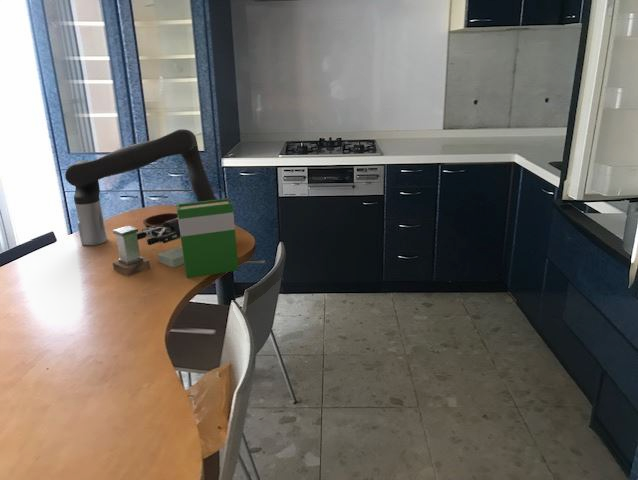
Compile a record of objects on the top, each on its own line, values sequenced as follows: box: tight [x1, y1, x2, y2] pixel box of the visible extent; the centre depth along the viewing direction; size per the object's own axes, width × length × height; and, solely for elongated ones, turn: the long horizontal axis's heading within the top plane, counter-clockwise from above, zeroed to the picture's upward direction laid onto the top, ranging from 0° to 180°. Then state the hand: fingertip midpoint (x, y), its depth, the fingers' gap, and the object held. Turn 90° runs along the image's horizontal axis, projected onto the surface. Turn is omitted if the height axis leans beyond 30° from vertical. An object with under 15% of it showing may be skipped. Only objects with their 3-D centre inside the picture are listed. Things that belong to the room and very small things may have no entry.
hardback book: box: [175, 197, 240, 279], centre depth 173 cm, size 18×7×24 cm, turn 108°
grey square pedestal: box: [112, 225, 144, 266], centre depth 177 cm, size 6×6×12 cm
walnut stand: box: [112, 257, 151, 278], centre depth 180 cm, size 9×9×3 cm
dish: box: [142, 212, 178, 228], centre depth 220 cm, size 18×22×5 cm
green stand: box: [157, 246, 184, 268], centre depth 185 cm, size 9×9×3 cm
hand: (141, 239), depth 180 cm, fingers open, 8 cm apart
